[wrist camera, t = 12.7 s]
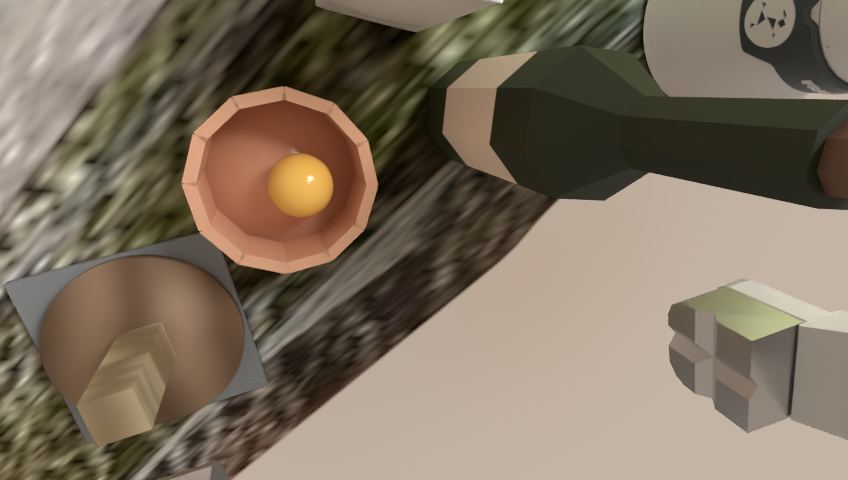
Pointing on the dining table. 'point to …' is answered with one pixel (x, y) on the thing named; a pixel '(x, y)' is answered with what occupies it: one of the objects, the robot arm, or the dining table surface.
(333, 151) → the bowl
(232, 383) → the mat
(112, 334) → the lid
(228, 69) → the dining table surface
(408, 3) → the skincare box
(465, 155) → the wine bottle
